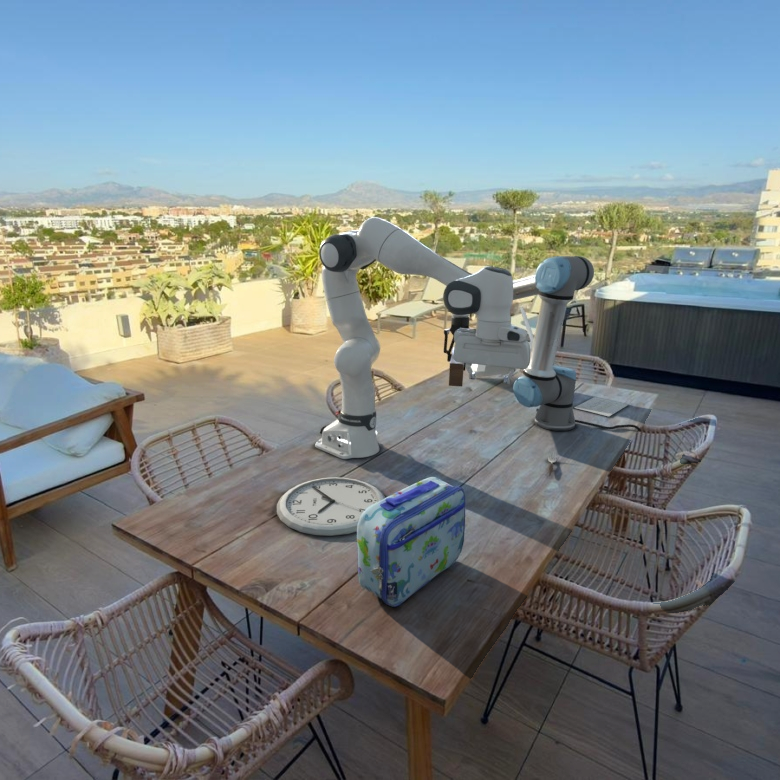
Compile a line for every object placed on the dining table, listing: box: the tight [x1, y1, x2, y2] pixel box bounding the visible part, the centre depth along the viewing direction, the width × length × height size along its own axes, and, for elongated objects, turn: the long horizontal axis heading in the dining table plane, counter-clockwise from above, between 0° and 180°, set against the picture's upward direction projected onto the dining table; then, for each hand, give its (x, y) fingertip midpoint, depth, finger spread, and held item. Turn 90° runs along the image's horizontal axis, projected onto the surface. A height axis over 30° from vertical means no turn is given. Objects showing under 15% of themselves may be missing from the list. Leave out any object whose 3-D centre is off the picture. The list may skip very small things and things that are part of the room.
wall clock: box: [276, 476, 386, 537], centre depth 142 cm, size 30×2×30 cm
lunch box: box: [356, 476, 466, 608], centre depth 110 cm, size 26×11×21 cm, turn 134°
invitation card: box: [573, 396, 629, 418], centre depth 226 cm, size 21×1×15 cm
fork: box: [547, 451, 558, 477], centre depth 168 cm, size 3×16×2 cm, turn 160°
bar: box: [448, 347, 464, 388], centre depth 216 cm, size 28×5×9 cm, turn 171°
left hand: (489, 381), depth 141 cm, fingers open, 8 cm apart
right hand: (457, 369), depth 226 cm, fingers closed on bar, 5 cm apart
